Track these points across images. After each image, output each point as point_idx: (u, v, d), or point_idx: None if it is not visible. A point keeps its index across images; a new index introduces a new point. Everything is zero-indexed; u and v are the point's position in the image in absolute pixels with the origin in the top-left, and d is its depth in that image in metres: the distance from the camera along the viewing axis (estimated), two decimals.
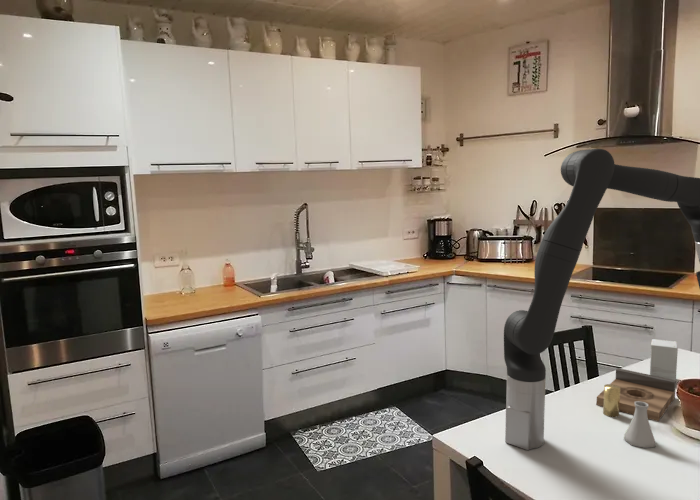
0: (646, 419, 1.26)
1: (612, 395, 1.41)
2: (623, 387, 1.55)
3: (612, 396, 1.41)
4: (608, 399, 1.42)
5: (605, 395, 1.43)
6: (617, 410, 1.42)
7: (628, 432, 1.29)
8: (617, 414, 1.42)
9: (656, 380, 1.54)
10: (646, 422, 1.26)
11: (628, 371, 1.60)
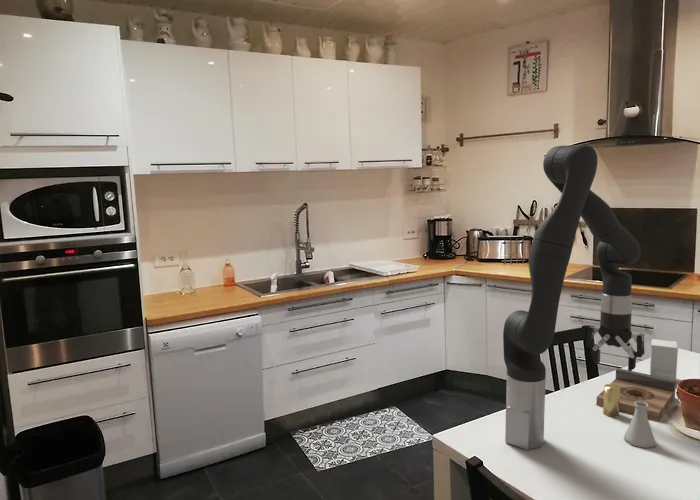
0: (646, 419, 1.26)
1: (612, 395, 1.41)
2: (623, 387, 1.55)
3: (612, 396, 1.41)
4: (608, 399, 1.42)
5: (605, 395, 1.43)
6: (617, 410, 1.42)
7: (628, 432, 1.29)
8: (617, 414, 1.42)
9: (656, 380, 1.54)
10: (646, 422, 1.26)
11: (628, 371, 1.60)
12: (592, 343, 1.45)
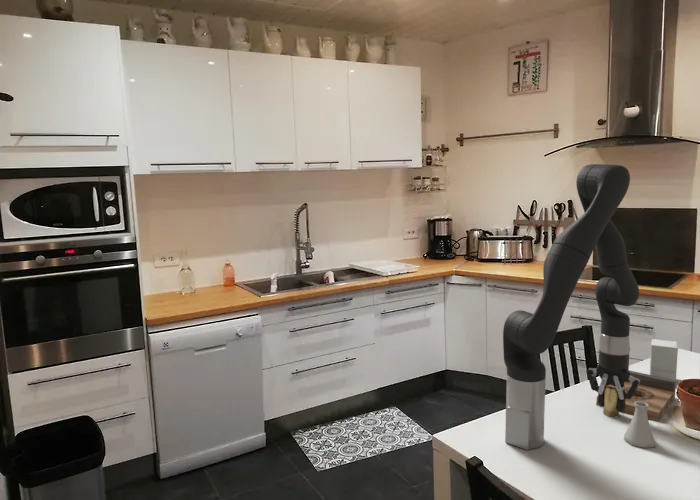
0: (646, 419, 1.26)
1: (612, 395, 1.41)
2: None
3: (612, 396, 1.41)
4: (608, 399, 1.42)
5: (605, 395, 1.43)
6: (617, 410, 1.42)
7: (628, 432, 1.29)
8: (617, 414, 1.42)
9: (656, 380, 1.54)
10: (646, 422, 1.26)
11: None
12: (597, 386, 1.46)
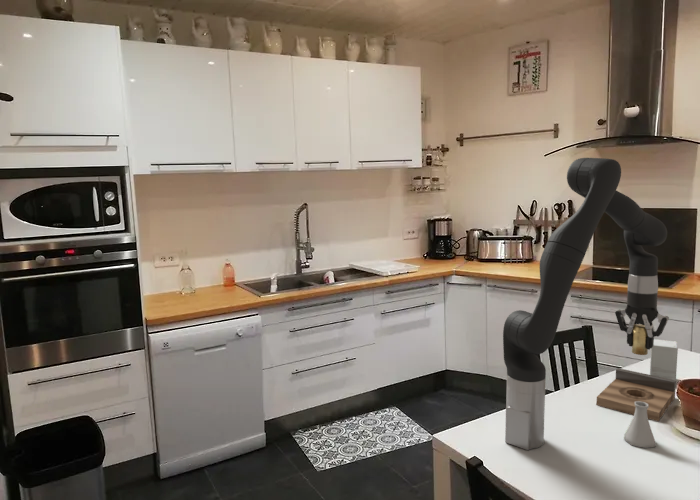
0: (646, 419, 1.26)
1: (641, 334, 1.47)
2: (623, 387, 1.55)
3: (641, 334, 1.47)
4: (637, 338, 1.47)
5: (634, 334, 1.48)
6: None
7: (628, 432, 1.29)
8: (646, 352, 1.48)
9: (656, 380, 1.54)
10: (646, 422, 1.26)
11: (628, 371, 1.60)
12: (626, 326, 1.51)
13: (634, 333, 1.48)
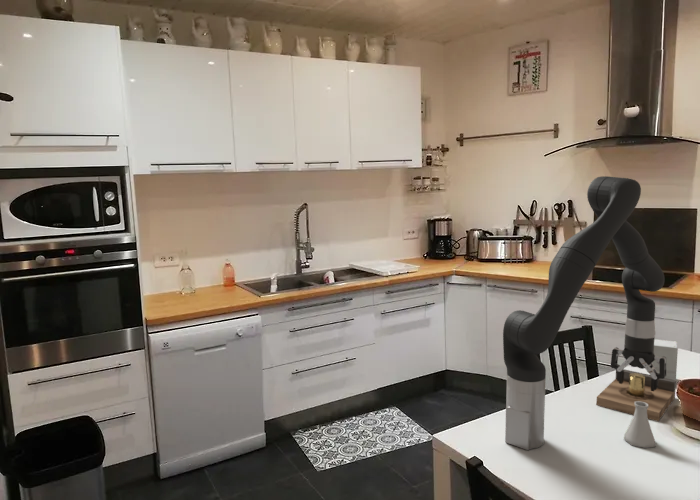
0: (646, 419, 1.26)
1: (637, 383, 1.49)
2: (623, 387, 1.55)
3: (637, 384, 1.49)
4: (633, 387, 1.50)
5: (630, 383, 1.50)
6: None
7: (628, 432, 1.29)
8: None
9: None
10: (646, 422, 1.26)
11: (628, 371, 1.60)
12: (616, 364, 1.54)
13: (630, 382, 1.50)
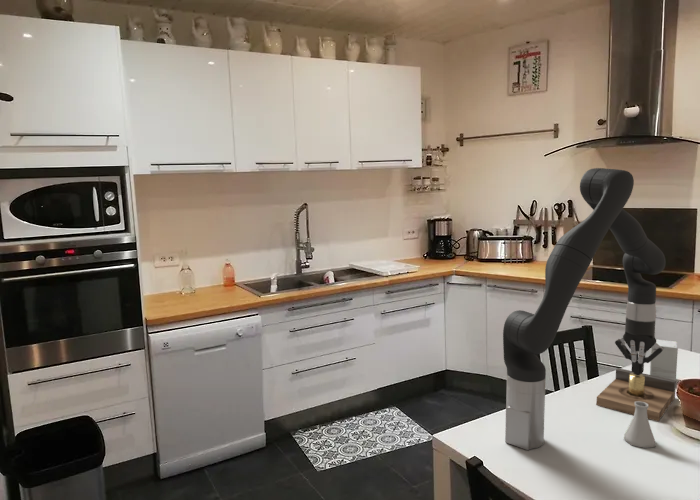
0: (646, 419, 1.26)
1: (637, 383, 1.49)
2: (623, 387, 1.55)
3: (637, 384, 1.49)
4: (633, 387, 1.50)
5: (630, 383, 1.50)
6: None
7: (628, 432, 1.29)
8: None
9: (656, 380, 1.54)
10: (646, 422, 1.26)
11: (628, 371, 1.60)
12: (631, 355, 1.51)
13: (630, 382, 1.50)
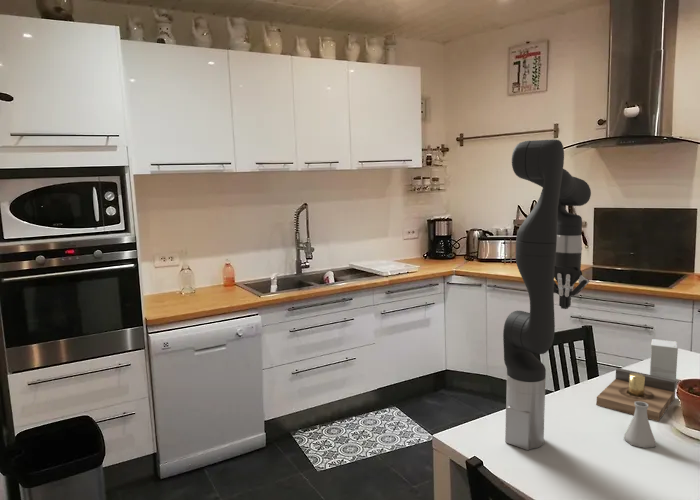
0: (646, 419, 1.26)
1: (637, 383, 1.49)
2: (623, 387, 1.55)
3: (637, 384, 1.49)
4: (633, 387, 1.50)
5: (630, 383, 1.50)
6: None
7: (628, 432, 1.29)
8: None
9: (656, 380, 1.54)
10: (646, 422, 1.26)
11: (628, 371, 1.60)
12: (559, 289, 1.52)
13: (630, 382, 1.50)
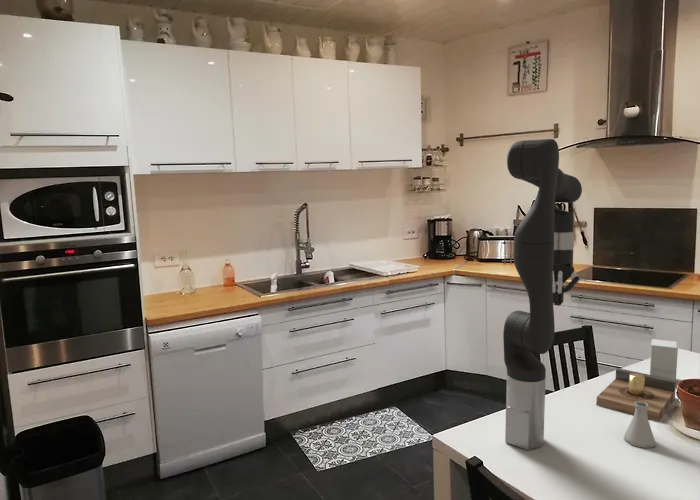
0: (646, 419, 1.26)
1: (637, 383, 1.49)
2: (623, 387, 1.55)
3: (637, 384, 1.49)
4: (633, 387, 1.50)
5: (630, 383, 1.50)
6: None
7: (628, 432, 1.29)
8: None
9: (656, 380, 1.54)
10: (646, 422, 1.26)
11: (628, 371, 1.60)
12: None
13: (630, 382, 1.50)
